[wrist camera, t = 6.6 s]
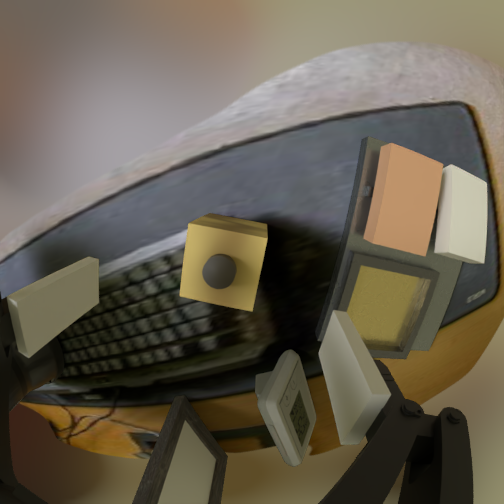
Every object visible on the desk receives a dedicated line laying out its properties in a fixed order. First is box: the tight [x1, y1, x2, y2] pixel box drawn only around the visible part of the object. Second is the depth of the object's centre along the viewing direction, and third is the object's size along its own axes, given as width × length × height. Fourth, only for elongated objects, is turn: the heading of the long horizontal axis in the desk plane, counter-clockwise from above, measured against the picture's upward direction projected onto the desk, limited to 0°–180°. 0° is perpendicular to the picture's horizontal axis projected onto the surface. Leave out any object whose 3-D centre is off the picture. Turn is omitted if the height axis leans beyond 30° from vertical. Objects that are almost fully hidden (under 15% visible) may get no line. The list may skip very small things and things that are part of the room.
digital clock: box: [255, 350, 316, 467], centre depth 29 cm, size 14×8×9 cm, turn 6°
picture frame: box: [132, 395, 228, 504], centre depth 26 cm, size 16×2×21 cm, turn 19°
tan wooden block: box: [180, 213, 268, 311], centre depth 24 cm, size 6×6×9 cm
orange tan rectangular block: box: [363, 143, 443, 256], centre depth 22 cm, size 6×9×2 cm, turn 169°
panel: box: [315, 136, 463, 359], centre depth 26 cm, size 16×22×4 cm
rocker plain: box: [434, 164, 487, 263], centre depth 22 cm, size 6×9×2 cm, turn 169°
